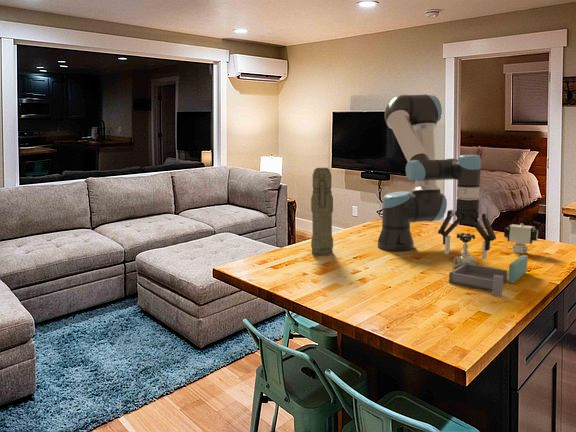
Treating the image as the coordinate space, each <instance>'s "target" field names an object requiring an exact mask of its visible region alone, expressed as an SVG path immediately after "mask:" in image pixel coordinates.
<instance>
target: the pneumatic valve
mask: <svg viewBox="0 0 576 432" xmlns="http://www.w3.org/2000/svg"><path fill="white" fill-rule="evenodd" d="M503 236H504V238H505V239H506V240H507V242H513V243H514V244H513V245H512V251H513V253H516V254H520V255H521V254H522V255H524V254H525V253H528V249H529V248H528V246H527V245H526V244H529V245H532V244H533V242H535V241H536V242H537V241H538V237H539V230H538V229H536V227H535V226H534V225H533V226H532V225H525V224H524V223H520V224H513V223H511V224H509V225H508V226H506V227H504V234H503Z"/></svg>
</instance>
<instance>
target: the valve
mask: <svg viewBox="0 0 576 432" xmlns="http://www.w3.org/2000/svg"><path fill="white" fill-rule="evenodd" d="M456 238H457V239H459V241H461V242H462V243H463V244H462V250H461V251H460V255H461V256H455V257H453V258H454V259H453V264H454V266H455V267H457V268H458V267H460V266H462V265H463V264H465V263H467V264H473V265H476V258H475V257H474V256H473V255H470V251H468V249H469V244H468V243H469V242H471V241H472V240H475V239H476V234H471V233H468V232H467V233H464V232H461V233H456Z"/></svg>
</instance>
